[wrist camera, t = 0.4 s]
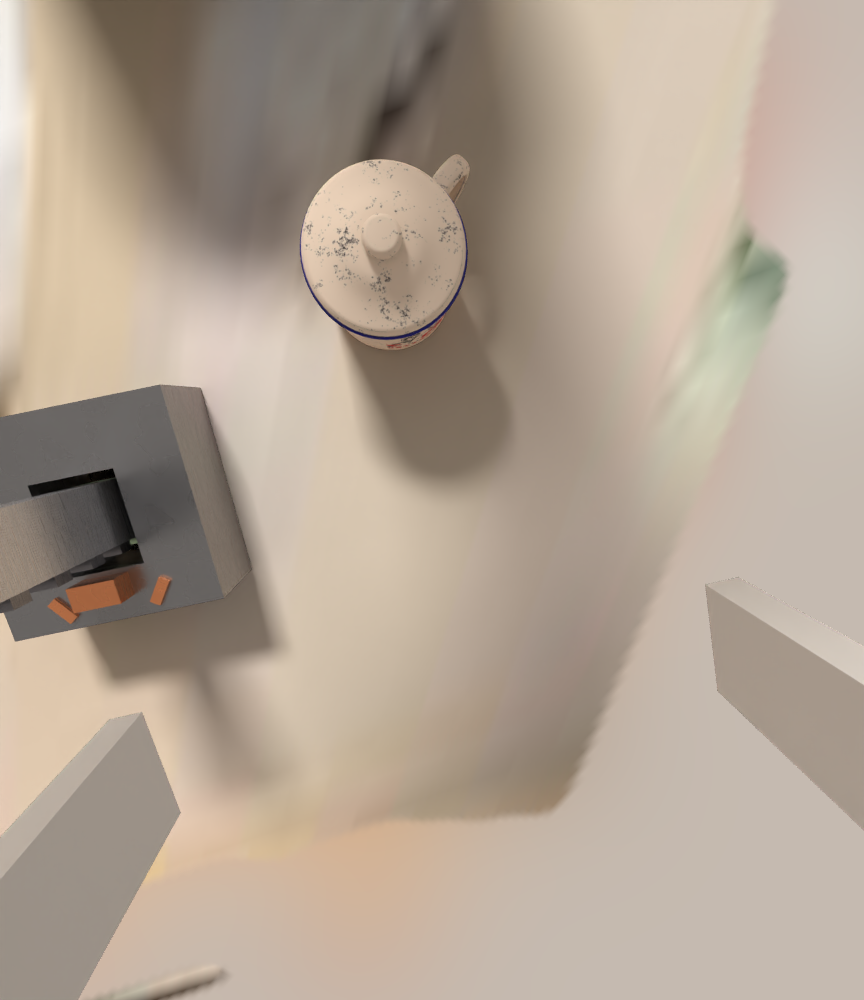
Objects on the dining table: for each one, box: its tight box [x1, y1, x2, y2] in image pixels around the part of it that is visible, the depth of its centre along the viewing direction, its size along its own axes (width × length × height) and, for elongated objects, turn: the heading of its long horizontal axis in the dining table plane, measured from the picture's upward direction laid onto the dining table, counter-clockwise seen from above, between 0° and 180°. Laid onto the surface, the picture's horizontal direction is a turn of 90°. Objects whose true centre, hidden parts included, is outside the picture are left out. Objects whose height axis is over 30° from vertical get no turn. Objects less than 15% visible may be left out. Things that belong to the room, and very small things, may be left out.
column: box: [0, 477, 137, 613], centre depth 28 cm, size 5×4×20 cm
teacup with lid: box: [300, 154, 470, 350], centre depth 30 cm, size 12×9×12 cm
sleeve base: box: [0, 385, 252, 641], centre depth 34 cm, size 14×14×8 cm
